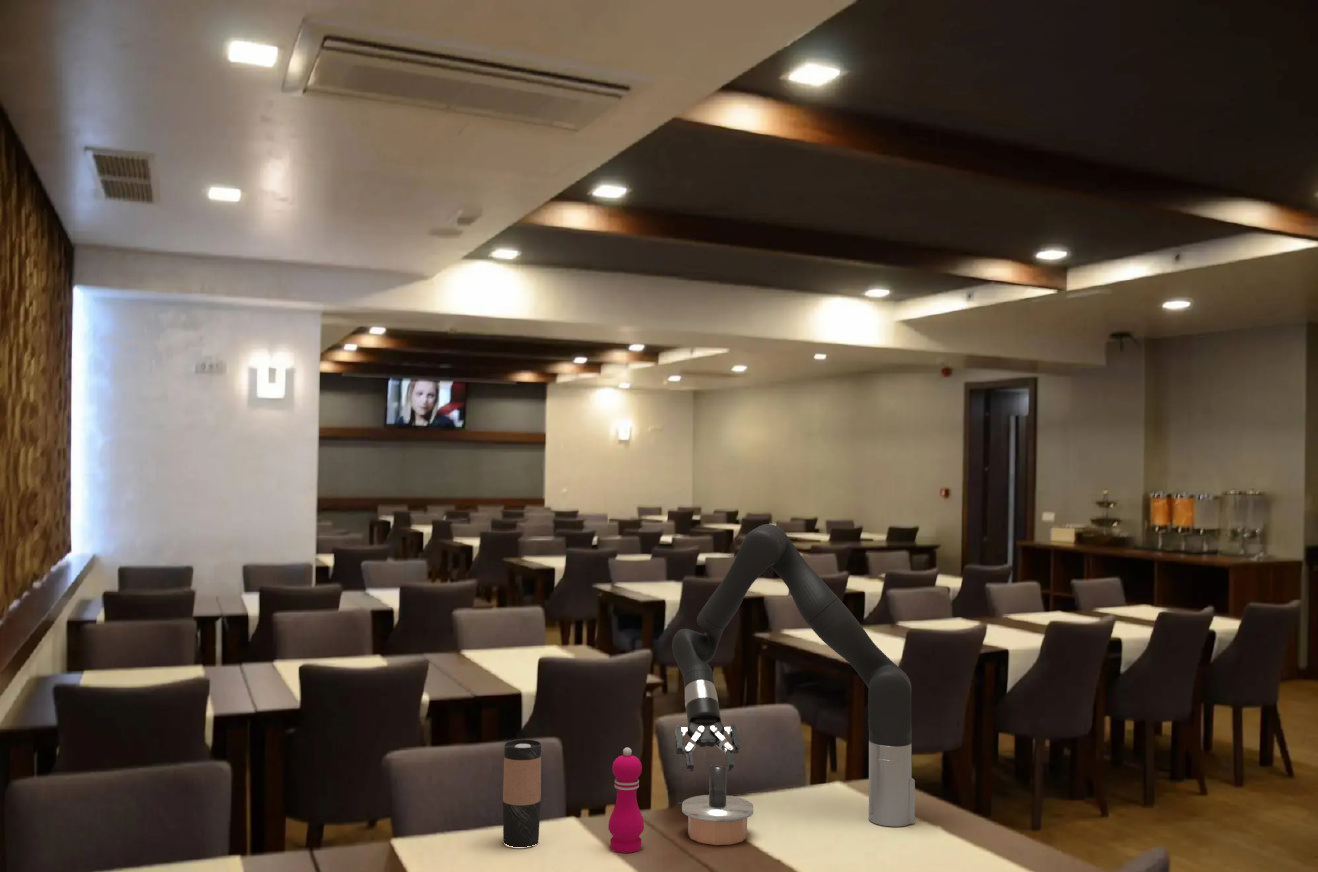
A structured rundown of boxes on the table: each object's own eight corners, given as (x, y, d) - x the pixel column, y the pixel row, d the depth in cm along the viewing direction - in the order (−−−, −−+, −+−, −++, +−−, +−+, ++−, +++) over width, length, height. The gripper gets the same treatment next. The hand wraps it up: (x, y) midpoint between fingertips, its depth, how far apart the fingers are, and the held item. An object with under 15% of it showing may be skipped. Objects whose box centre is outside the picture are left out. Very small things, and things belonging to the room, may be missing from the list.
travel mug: (546, 840, 217) (548, 741, 218) (526, 851, 210) (528, 749, 211) (515, 834, 220) (517, 737, 221) (494, 845, 213) (496, 745, 214)
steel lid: (744, 799, 231) (744, 756, 231) (760, 820, 216) (761, 774, 216) (676, 801, 229) (677, 758, 229) (688, 822, 214) (689, 776, 214)
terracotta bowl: (739, 825, 229) (739, 801, 229) (751, 843, 217) (751, 818, 217) (684, 826, 227) (684, 803, 227) (694, 845, 215) (694, 820, 215)
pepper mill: (645, 842, 216) (647, 743, 217) (641, 854, 209) (643, 752, 210) (610, 841, 217) (612, 742, 218) (605, 853, 210) (607, 751, 211)
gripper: (673, 695, 238) (681, 760, 226) (735, 695, 240) (745, 759, 228) (669, 714, 243) (676, 778, 231) (729, 714, 245) (740, 777, 233)
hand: (711, 769), depth 230 cm, fingers open, 8 cm apart
